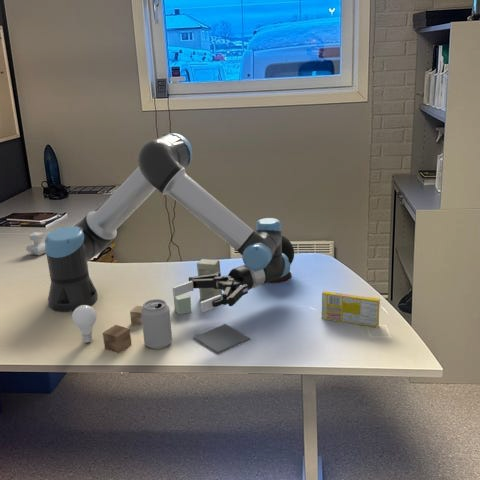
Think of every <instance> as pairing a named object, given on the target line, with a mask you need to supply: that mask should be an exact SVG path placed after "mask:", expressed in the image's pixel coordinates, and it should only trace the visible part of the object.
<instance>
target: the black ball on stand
mask: <svg viewBox="0 0 480 480" xmlns="http://www.w3.org/2000/svg"><path fill="white" fill-rule="evenodd" d="M282 253H283V254H285V255H286V256H287V257H288V259H289V260H288V261H289V263H290V266H291V265H292V263H293V261H294V259H295V250H294V245H293V244H292V242H291V241H290V240H289V239H288V238H287V237H285V236H284V235H282ZM291 278H292V273H291V270H290V271H289V273H288V274H287V275H285V276H283V277H281V278H279V279H278V280H274V281H271V282H268V283H269V284H270V283H271V284H280V283H285V282H287V281H289V280H291ZM268 283H267V284H268Z"/></svg>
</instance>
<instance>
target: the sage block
mask: <svg viewBox="0 0 480 480" xmlns="http://www.w3.org/2000/svg"><path fill="white" fill-rule="evenodd" d="M173 305H174V311H175V312H176V313H177V315H178V316H180V315H185V314H189V313H192V302H191V296H190V295H189V294H188V292H187V293H184V294H181V295H179V296H176V297H174V296H173Z"/></svg>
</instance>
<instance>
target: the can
mask: <svg viewBox="0 0 480 480" xmlns="http://www.w3.org/2000/svg"><path fill="white" fill-rule="evenodd" d="M142 306H143V308H142V309H141V316H142V325H141V326H142V333H143V342H144V345H145V346H146V347H148V348H150V349H153V350H159V349H164V348H166V347H168V346H169V345H170V344H171V343H172V341H173V335H172V334H173V333H172V326H171V325H172V323H171V322H172V321H171V313H170V312H171V310H170V306H169V305H168V304H167V301H166V300H163V299H155V298H154V299H149V300H147V301H145V302H144V303H143V304H142Z"/></svg>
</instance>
